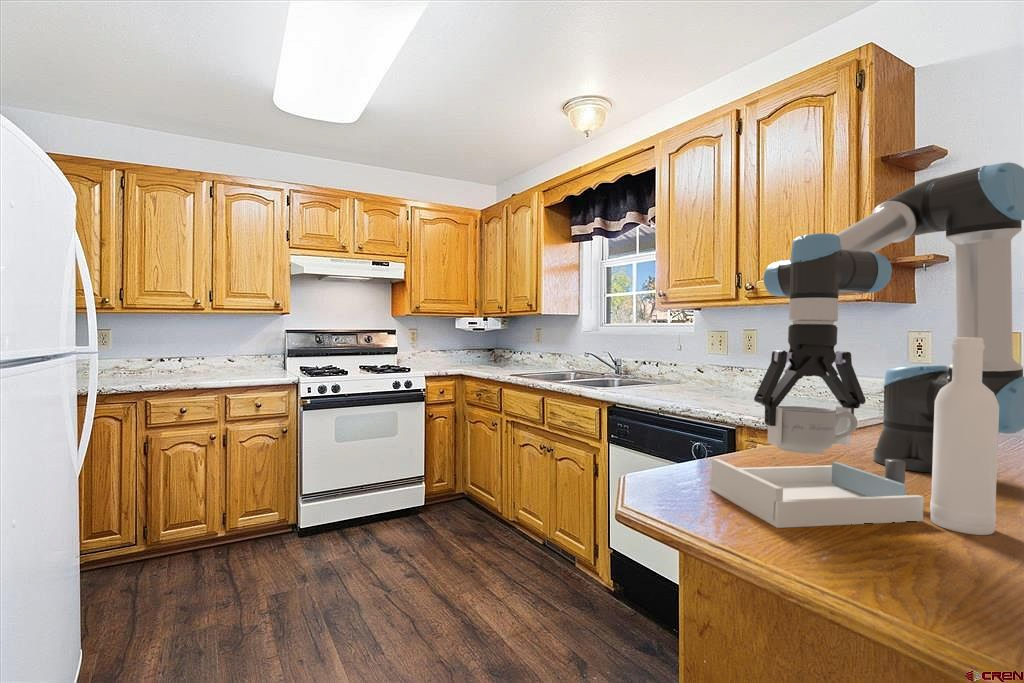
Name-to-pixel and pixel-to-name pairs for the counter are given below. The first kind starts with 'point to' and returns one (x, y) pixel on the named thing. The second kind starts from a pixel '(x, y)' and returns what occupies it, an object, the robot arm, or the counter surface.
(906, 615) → the counter surface
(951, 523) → the bottle
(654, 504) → the counter surface
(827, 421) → the teacup
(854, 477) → the blue-grey panel and knob
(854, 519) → the tray
